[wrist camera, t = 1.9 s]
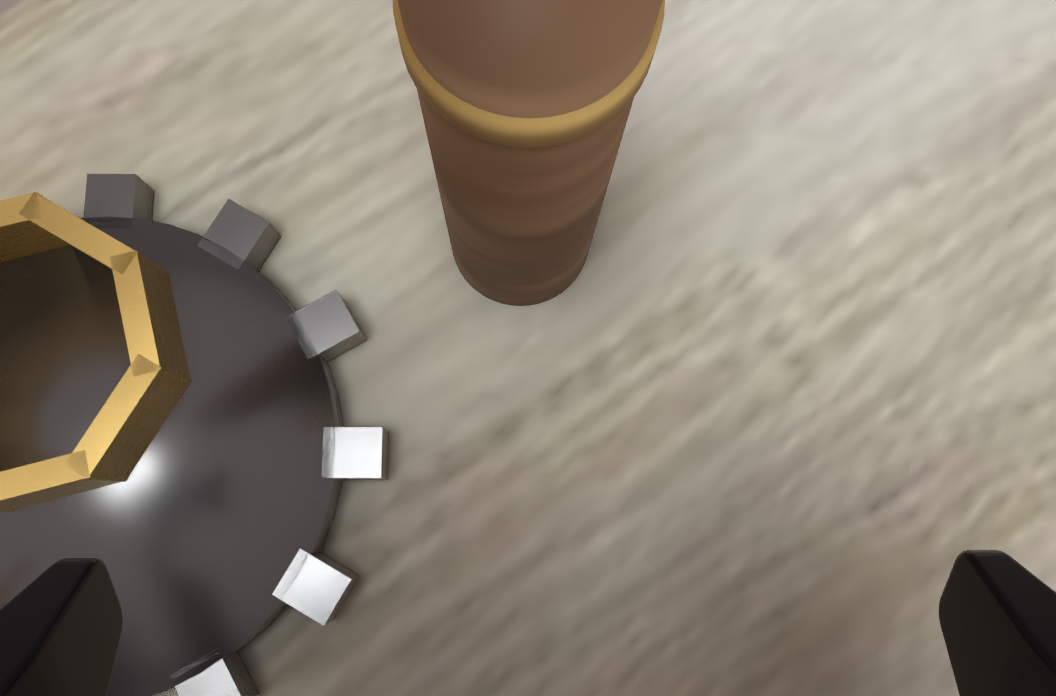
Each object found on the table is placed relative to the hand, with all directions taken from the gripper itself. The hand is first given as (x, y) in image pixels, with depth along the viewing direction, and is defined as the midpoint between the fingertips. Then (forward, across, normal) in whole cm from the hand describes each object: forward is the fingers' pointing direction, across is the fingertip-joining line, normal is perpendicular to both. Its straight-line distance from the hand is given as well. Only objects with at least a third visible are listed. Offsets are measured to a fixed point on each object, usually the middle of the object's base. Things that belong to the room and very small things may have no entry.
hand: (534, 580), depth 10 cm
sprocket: (+11, +10, +8) cm, 17 cm away
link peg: (+15, 0, +4) cm, 16 cm away
